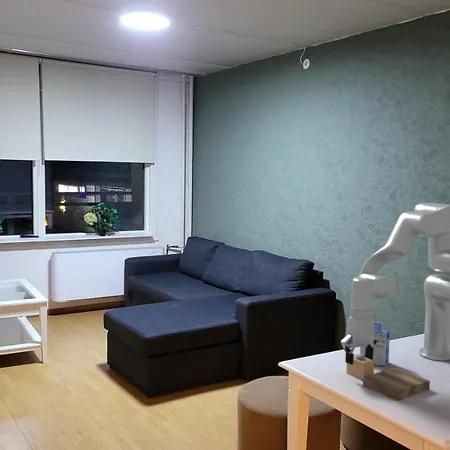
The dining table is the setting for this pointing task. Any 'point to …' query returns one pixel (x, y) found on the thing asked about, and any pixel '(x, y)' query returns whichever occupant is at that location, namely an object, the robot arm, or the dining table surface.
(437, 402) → the dining table surface
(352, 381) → the dining table surface
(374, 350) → the ink cartridge box
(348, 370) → the block
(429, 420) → the dining table surface
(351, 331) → the robot arm
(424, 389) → the wooden square tile
